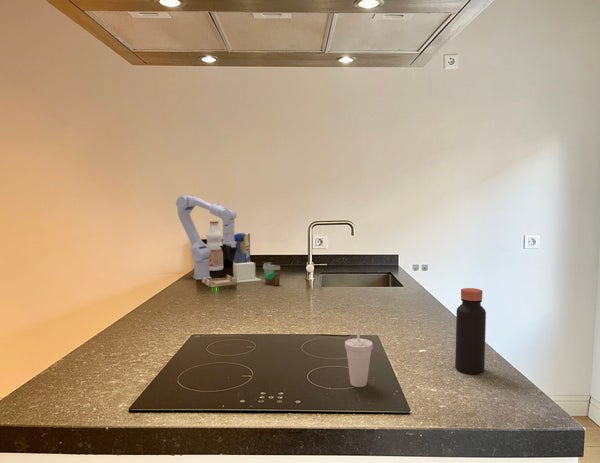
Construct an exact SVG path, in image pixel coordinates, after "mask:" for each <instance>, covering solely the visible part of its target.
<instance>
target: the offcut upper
mask: <svg viewBox="0 0 600 463" xmlns="http://www.w3.org/2000/svg"><path fill="white" fill-rule="evenodd" d="M230 282H231V281H229V280H227V281H218V282H213V284H220V283H230Z"/></svg>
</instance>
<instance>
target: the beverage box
mask: <svg viewBox="0 0 600 463" xmlns="http://www.w3.org/2000/svg"><path fill="white" fill-rule="evenodd" d="M234 242H237V243H236V247H238V249H237V251H236V253H235V257H234V261H232V277H234V264H236V263H249V262H251V233H249V232H246V233H244V232H242V233H241V232H239V233H234Z"/></svg>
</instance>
